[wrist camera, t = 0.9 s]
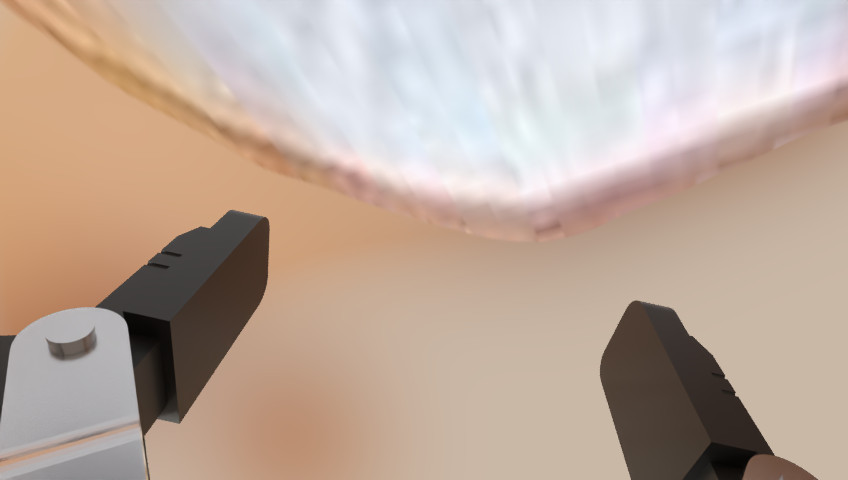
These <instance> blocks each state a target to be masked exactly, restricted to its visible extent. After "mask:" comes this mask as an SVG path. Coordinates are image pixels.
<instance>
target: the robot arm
mask: <svg viewBox="0 0 848 480" xmlns="http://www.w3.org/2000/svg"><path fill="white" fill-rule="evenodd" d="M268 255H269V221H268V219H267V218H266V217H262V216H257V215H253V214H249V213H244V212H239V211H235V210H230V211H228V212H227V213H226V214H225V215H224V216H223V217H222V218H221V219H220V220H219V221H218V222H217V223H216V224H215V225H213V226H212V227H211V228H205V227H199V228H196V229H194V230H191V231H189V232H187V233H184V234H182V235H179V236H177V237H176V238H175V239H174V240H173V241H171V242H170V243H169V244H168V245H167V246H166V247H164V248H163V249H162V251H161V253H158V254H157V255H155V256H154V257H153V258H152V259H151V260H149V261H148V264H147V265H144V266H143V267H141V268H140V269H139V270H138V271H137V272H136V273H134V274H133V275H132V276H131V277H130V278H129V279H127V280H126V281H125V282H124V283H123V284H122V285H121V286H119V287H118V288H117V289H116V290H115V291H114V292H112V293H111V294H110V295H109V296H108V297H107V298H106V299H104V300H103V301H102V302H101V303H100V304H98V305H97V306H96V307H95V308H92V307H87V308H85V307H84V308H74V309H68V310H63V311H59V312H56V313H53V314H50V315H47V316H45V317H43V318H41V319H39V320H37V321H35V322H33V323H32V324H30V325H28V326H27V327H26V328H24V329H23V330H22V331H21V332H20V333H19V334H18V335H13V336H0V480H150V474H149V466H148V459H147V451H146V444H145V437H144V436H145V434H146V433H147V432H148V430H149V429H150V428H151V426H152V425H153V423H154V422H155V421H156V419H161V420H165V421H170V422H174V423H180V422H181V421H182V419H183V418H184V416H185V414H186V413H187V412H188V410H189V408H190V407H191V406H192V404H193V403H194V401H195V400H196V398H197V397H198V395H199V394H200V392H201V391H202V389H203V388H204V386H205V385H206V383H207V382H208V380H209V379H210V377H211V376H212V374H213V373H214V371H215V370H216V368H217V367H218V365H219V364H220V362H221V361H222V359H223V358H224V356H225V355H226V353H227V352H228V350H229V349H230V347H231V346H232V344H233V343H234V341H235V340H236V338H237V337H238V335H239V334H240V332H241V331H242V329H243V328H244V326H245V325H246V323H247V322H248V320H249V319H250V318H251V316H252V314H253V313H254V312H255V310H256V309H257V307H258V305H259V304H260V302H261V300H262V298H263V295H264V292H265V289H266V285H267V278H268ZM600 378H601V382H602V386H603V389H604V392H605V395H606V399H607V402H608V405H609V408H610V411H611V415H612V418H613V422H614V425H615V428H616V431H617V434H618V438H619V441H620V444H621V448H622V451H623V454H624V457H625V461H626V464H627V467H628V471H629V474H630V477H631V480H818V479H816V478H815V477H814V476H813V475H811V474H810V473H808V472H807V471H806V470H804V469H803V468H801V467H799V466H797V465H796V464H794V463H792V462H790V461H788V460H785V459H783V458H780V457H777V456H775V455H774V453H773V452H772V450H771V449H770V447H769V446H768V444H767V442H766V441H765V439H764V437H763V436H762V434H761V433H760V431H759V429H758V428H757V426H756V425H755V423H754V422H753V420H752V418H751V416H750V415H749V413H748V412H747V410H746V408H745V407H744V405H743V404H742V402H741V400H740V399H739V397H736V396H735V393H736V392H735V391H734V389H733V387H732V386H731V384H730V383H729V381H728V380H727V379H725V375H724V373H723V372H722V370H721V368H720V367H719V365H718V363H717V362H716V360H715V358H714V357H713V355H711V354H710V353H709V352H708V351H707V350H706V349H705V348H704V347H703V346H702V345H701V344H700V343H699V342H698V341H697V340H696V339H695V338H694V337H693V336H689V334H688V333H687V331H686V329H685V328H684V326H683V324H682V322H681V321H680V319H679V317H678V316H677V314H676V312H675V311H674V310H673V309H671V308H668V307H664V306H659V305H655V304H650V303H646V302H641V301H633V302H632V303H631V304H630V305H629V306H628V307H627V309H626V311H625V313H624V315H623V316H622V318H621V320H620V322H619V324H618V326H617V328H616V330H615V332H614V334H613V336H612V338H611V339H610V341H609V343H608V345H607V347H606V349H605V351H604V353H603V356H602V360H601V365H600Z"/></svg>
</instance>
